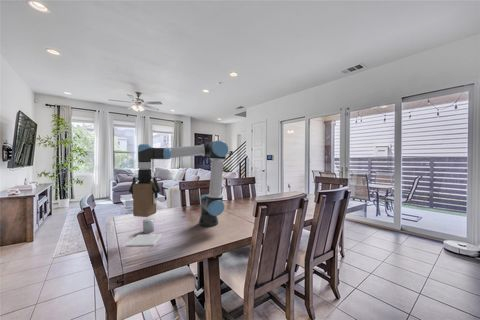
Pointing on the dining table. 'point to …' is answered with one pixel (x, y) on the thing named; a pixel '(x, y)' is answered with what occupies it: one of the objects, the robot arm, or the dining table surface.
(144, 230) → the pale grey egg
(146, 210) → the wooden block
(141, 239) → the shallow square tray
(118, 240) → the dining table surface
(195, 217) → the dining table surface
